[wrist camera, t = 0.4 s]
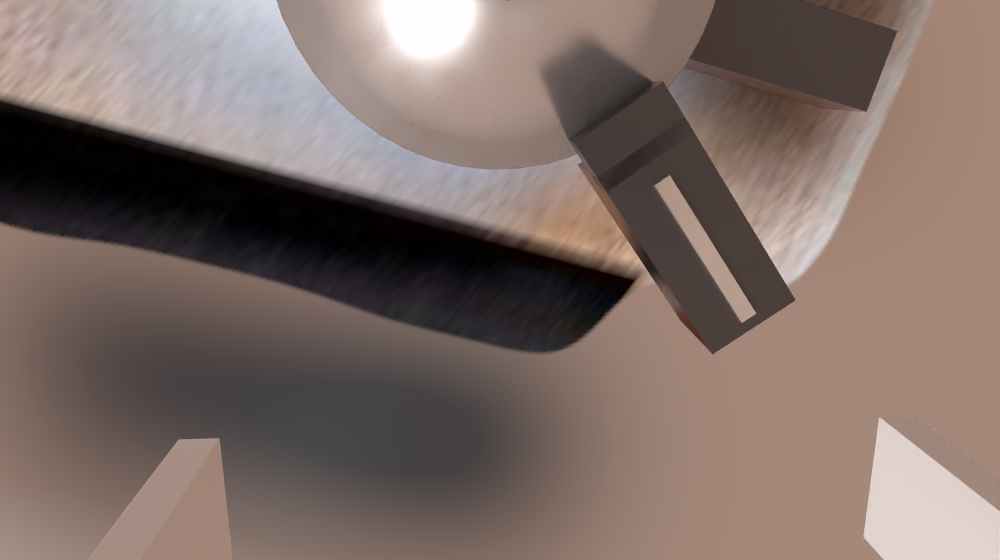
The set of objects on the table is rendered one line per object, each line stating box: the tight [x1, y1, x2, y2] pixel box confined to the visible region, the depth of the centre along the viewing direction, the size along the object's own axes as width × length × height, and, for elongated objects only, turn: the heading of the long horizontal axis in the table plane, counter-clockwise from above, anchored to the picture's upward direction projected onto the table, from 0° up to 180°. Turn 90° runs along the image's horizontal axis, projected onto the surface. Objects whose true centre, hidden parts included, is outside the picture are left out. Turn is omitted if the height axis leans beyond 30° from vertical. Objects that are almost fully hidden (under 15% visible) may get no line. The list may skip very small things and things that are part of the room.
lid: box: [277, 0, 795, 354], centre depth 26 cm, size 15×24×5 cm, turn 35°
